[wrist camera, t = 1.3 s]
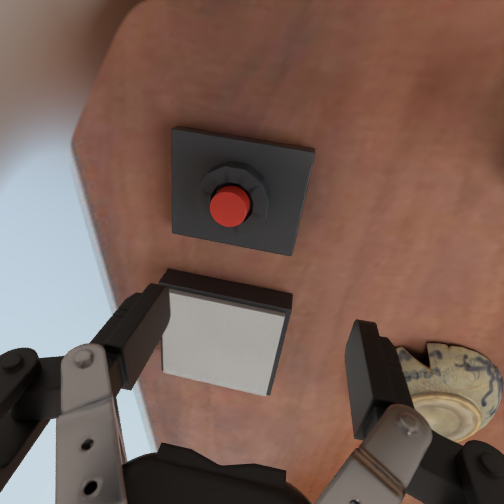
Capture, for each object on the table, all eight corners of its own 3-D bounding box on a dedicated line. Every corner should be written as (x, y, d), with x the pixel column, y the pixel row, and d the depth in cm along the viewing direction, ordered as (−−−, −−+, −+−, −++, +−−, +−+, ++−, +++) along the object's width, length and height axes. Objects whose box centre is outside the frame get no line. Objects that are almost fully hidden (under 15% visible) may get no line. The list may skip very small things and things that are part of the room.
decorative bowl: (390, 442, 39) (525, 413, 33) (397, 473, 36) (547, 449, 30) (327, 369, 35) (468, 320, 29) (328, 397, 32) (487, 350, 26)
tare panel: (177, 227, 29) (164, 241, 26) (177, 125, 24) (161, 131, 22) (292, 249, 28) (290, 266, 26) (315, 148, 23) (315, 157, 21)
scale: (169, 354, 38) (159, 374, 36) (168, 268, 32) (155, 285, 29) (272, 378, 37) (269, 400, 35) (292, 294, 31) (291, 314, 28)
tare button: (213, 215, 25) (208, 223, 23) (216, 182, 23) (210, 188, 22) (247, 222, 25) (244, 230, 23) (252, 188, 23) (248, 195, 22)
